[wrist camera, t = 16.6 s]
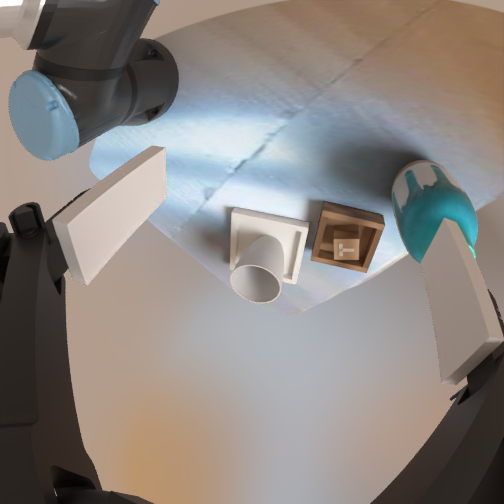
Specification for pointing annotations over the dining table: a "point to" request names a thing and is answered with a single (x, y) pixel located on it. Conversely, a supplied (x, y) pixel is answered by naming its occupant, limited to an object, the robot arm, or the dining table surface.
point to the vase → (430, 206)
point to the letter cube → (346, 242)
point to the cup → (260, 271)
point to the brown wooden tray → (345, 215)
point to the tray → (259, 224)
